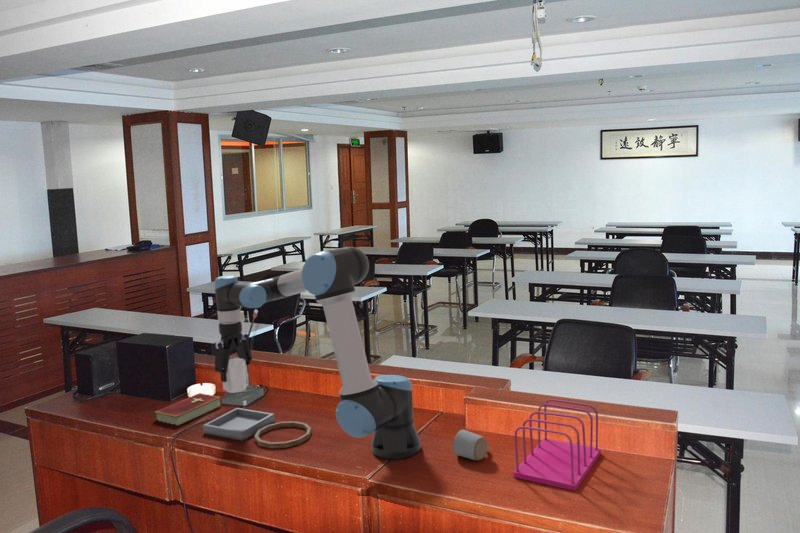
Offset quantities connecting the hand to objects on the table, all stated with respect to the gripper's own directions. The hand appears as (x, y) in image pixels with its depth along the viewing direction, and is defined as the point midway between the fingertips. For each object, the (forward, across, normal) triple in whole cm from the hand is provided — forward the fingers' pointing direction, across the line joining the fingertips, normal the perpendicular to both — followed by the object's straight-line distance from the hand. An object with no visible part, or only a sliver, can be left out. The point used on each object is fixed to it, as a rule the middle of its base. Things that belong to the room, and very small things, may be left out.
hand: (236, 386), depth 226 cm
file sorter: (+15, -19, +107) cm, 109 cm away
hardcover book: (+16, -2, -28) cm, 32 cm away
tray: (+15, 0, 0) cm, 15 cm away
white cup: (+1, 0, 0) cm, 1 cm away
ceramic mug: (+15, -14, +82) cm, 85 cm away
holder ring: (+15, -1, +19) cm, 24 cm away
